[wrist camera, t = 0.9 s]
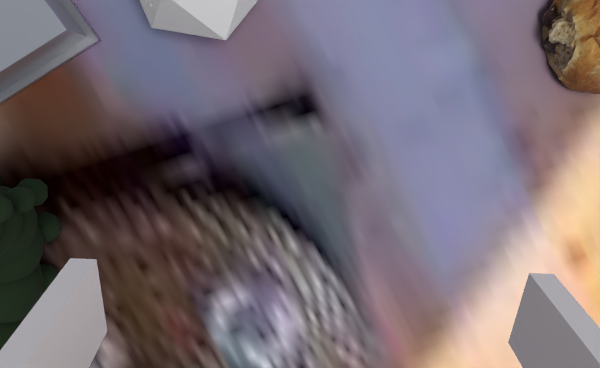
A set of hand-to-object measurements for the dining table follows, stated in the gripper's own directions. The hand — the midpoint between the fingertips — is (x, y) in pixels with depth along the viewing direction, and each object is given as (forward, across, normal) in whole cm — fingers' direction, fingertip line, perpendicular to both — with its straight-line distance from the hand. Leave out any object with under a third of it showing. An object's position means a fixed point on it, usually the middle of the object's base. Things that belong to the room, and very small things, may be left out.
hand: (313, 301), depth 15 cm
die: (+25, +8, -8) cm, 27 cm away
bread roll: (+30, -24, -6) cm, 39 cm away
